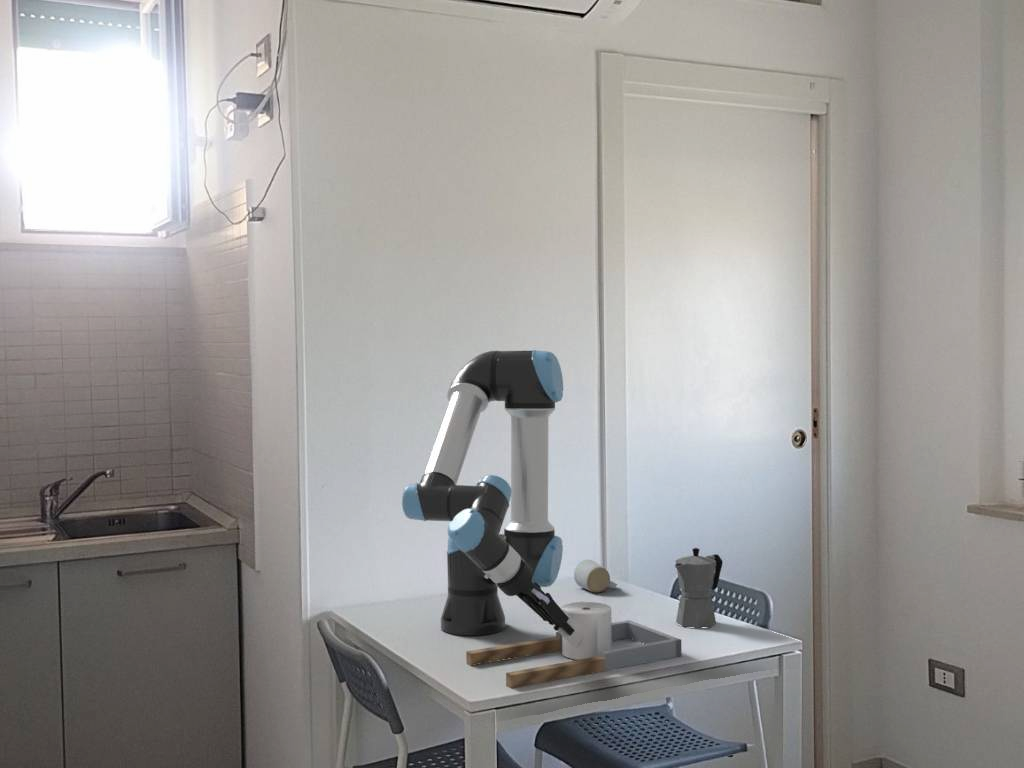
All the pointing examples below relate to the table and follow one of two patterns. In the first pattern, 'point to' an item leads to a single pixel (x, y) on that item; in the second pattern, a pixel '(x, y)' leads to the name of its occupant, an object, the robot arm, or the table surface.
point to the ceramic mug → (592, 576)
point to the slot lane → (536, 673)
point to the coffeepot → (697, 589)
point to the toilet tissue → (588, 629)
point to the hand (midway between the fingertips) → (577, 641)
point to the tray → (651, 650)
